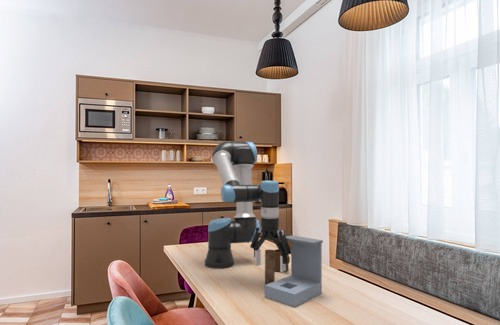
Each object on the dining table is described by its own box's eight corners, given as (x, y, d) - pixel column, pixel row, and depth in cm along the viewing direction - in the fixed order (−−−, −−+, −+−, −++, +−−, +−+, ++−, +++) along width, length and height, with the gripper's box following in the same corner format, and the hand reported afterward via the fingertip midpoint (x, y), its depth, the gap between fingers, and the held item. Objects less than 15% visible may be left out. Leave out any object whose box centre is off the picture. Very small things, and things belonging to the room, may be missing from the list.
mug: (296, 274, 159) (296, 253, 160) (281, 275, 157) (281, 255, 157) (283, 267, 171) (283, 248, 171) (270, 268, 168) (270, 249, 168)
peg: (263, 286, 142) (263, 250, 142) (269, 284, 145) (269, 249, 145) (270, 288, 139) (270, 252, 140) (276, 286, 142) (276, 250, 142)
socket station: (263, 296, 131) (263, 241, 131) (291, 284, 144) (291, 235, 145) (295, 307, 120) (295, 248, 121) (322, 293, 134) (322, 240, 135)
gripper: (242, 215, 148) (242, 264, 148) (288, 220, 131) (288, 276, 131) (253, 214, 154) (253, 261, 153) (299, 219, 137) (300, 272, 136)
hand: (270, 268), depth 142 cm, fingers open, 13 cm apart
